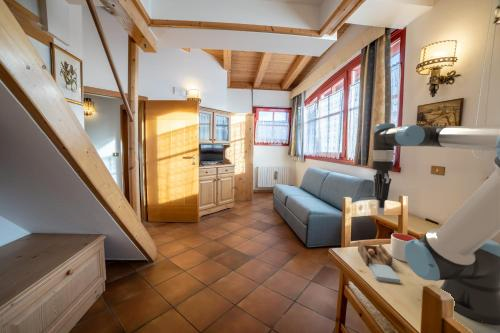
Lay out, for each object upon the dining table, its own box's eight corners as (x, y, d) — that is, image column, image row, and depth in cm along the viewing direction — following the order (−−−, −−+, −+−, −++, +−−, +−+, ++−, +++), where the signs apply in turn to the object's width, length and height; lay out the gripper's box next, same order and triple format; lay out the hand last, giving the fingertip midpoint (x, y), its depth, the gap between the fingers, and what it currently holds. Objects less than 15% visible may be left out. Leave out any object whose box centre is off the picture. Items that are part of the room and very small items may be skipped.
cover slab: (399, 284, 80) (399, 279, 80) (376, 281, 82) (376, 276, 82) (389, 270, 90) (389, 265, 90) (368, 267, 92) (368, 263, 92)
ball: (375, 257, 99) (375, 250, 99) (368, 256, 100) (368, 250, 100) (373, 254, 102) (373, 248, 102) (366, 253, 103) (367, 247, 103)
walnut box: (391, 269, 90) (392, 257, 89) (366, 265, 92) (366, 254, 92) (380, 253, 103) (380, 243, 103) (357, 251, 106) (358, 241, 105)
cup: (422, 263, 94) (423, 242, 93) (399, 263, 94) (400, 241, 93) (405, 252, 104) (407, 233, 103) (385, 252, 104) (386, 233, 103)
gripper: (399, 161, 82) (396, 220, 84) (386, 160, 95) (383, 211, 97) (378, 161, 84) (375, 218, 86) (368, 159, 97) (365, 209, 99)
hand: (379, 214), depth 91 cm, fingers closed
